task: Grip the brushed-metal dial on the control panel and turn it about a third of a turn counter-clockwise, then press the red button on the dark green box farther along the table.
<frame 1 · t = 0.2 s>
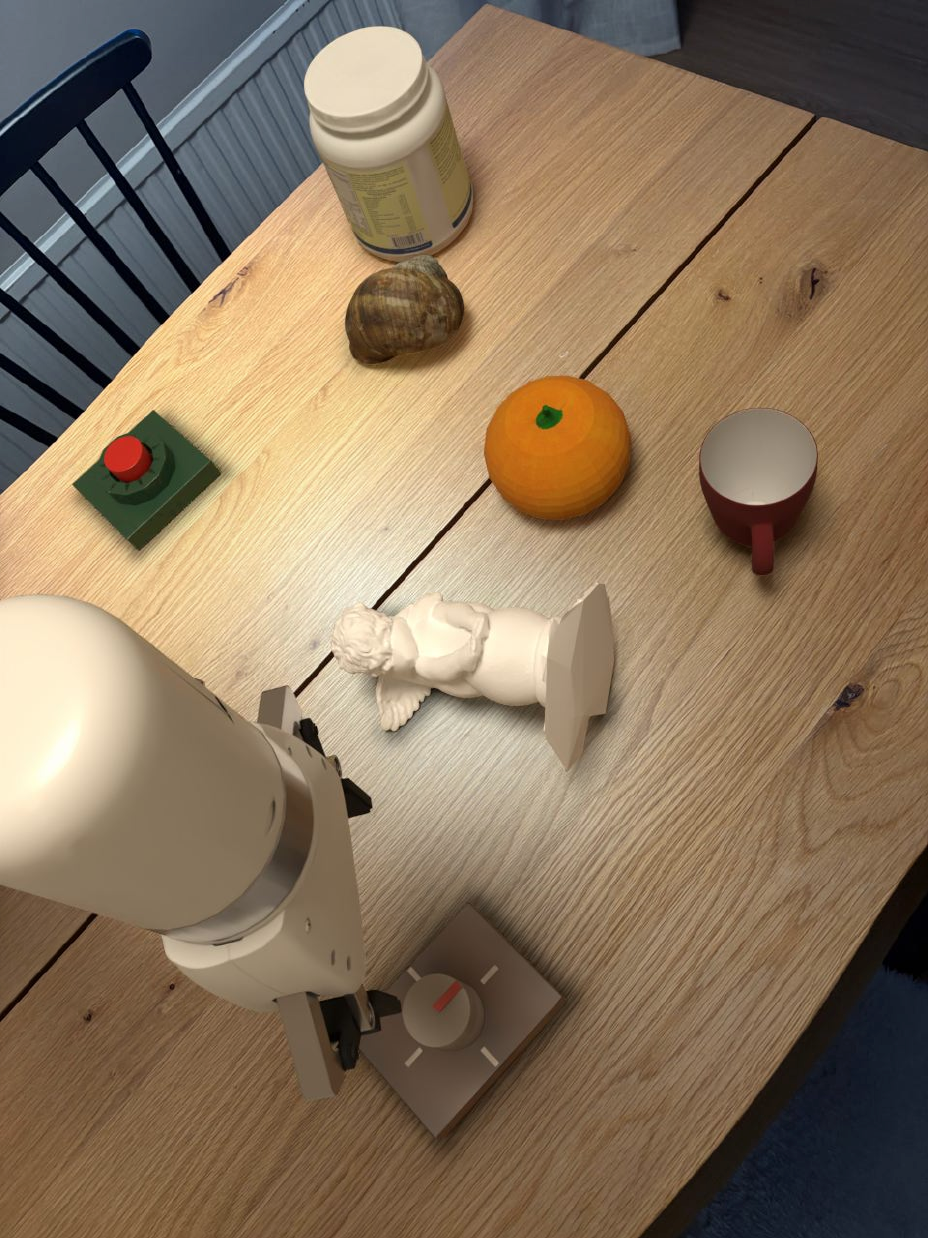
hand: (356, 908, 53), 26 cm above the table, tool pointing down, fingers open, 9 cm apart
supplement tub: (415, 218, 106), on the table
dial: (443, 1012, 71), point 5 cm above the table, hinge at 0.0°
mug: (758, 539, 85), on the table
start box: (152, 485, 100), on the table
fruit: (564, 473, 91), on the table
button: (128, 459, 96), point 4 cm above the table, slide at 0.1 cm
seashell: (411, 337, 100), on the table
angel figurine: (480, 688, 85), on the table
dial panel: (460, 1018, 75), on the table
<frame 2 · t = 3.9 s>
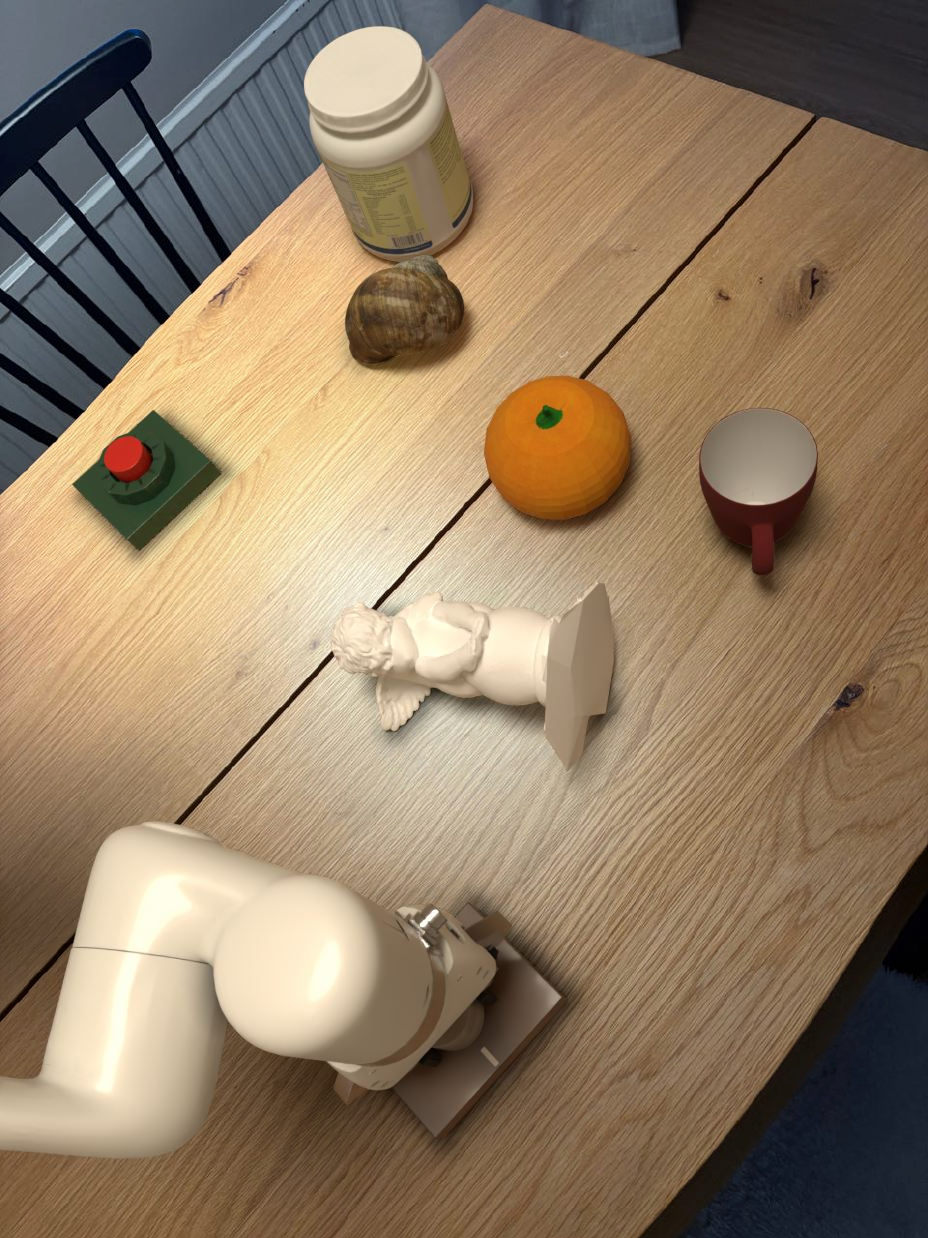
hand: (450, 1015, 73), 3 cm above the table, tool pointing down, fingers closed on dial, 4 cm apart
dial: (443, 1012, 71), point 5 cm above the table, hinge at 0.1°, touching gripper
everything else where it was.
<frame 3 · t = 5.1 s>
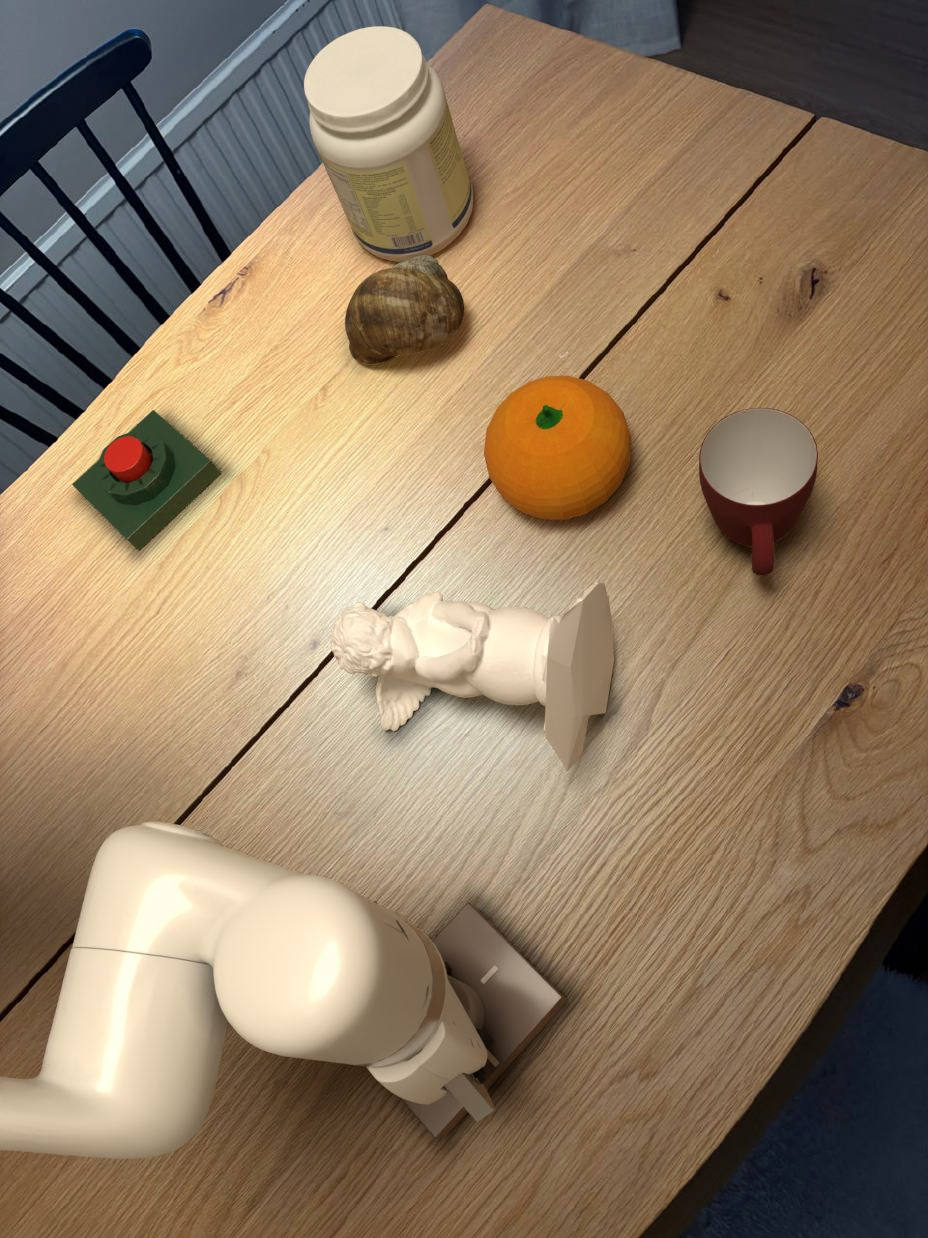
hand: (450, 1015, 73), 3 cm above the table, tool pointing down, fingers closed on dial, 4 cm apart
dial: (443, 1012, 71), point 5 cm above the table, hinge at 76.9°, touching gripper
everything else where it was.
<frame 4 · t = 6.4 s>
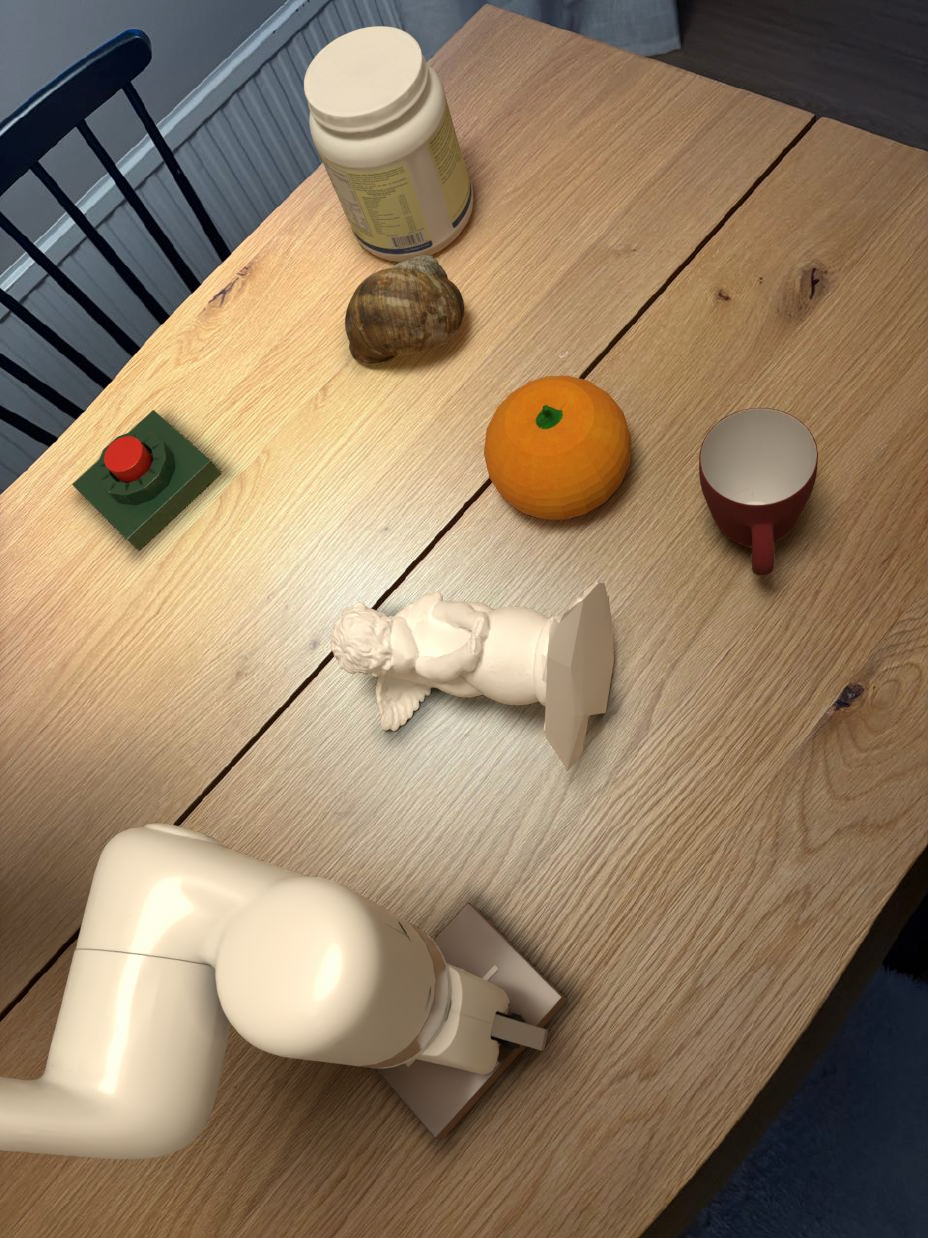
hand: (455, 1016, 73), 3 cm above the table, tool pointing down, fingers open, 5 cm apart
dial: (443, 1012, 71), point 5 cm above the table, hinge at 119.9°, touching gripper
everything else where it was.
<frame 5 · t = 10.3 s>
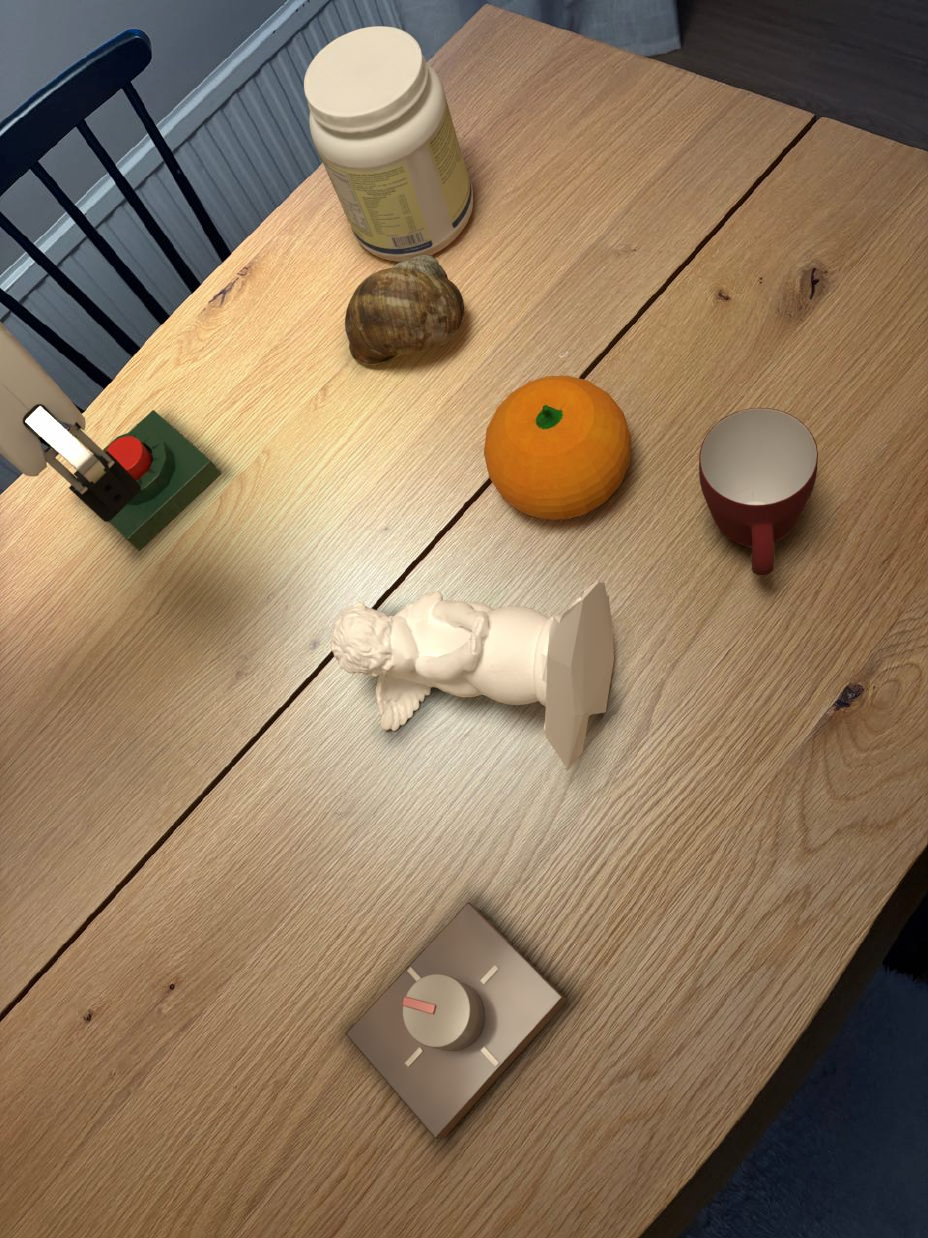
hand: (79, 465, 72), 23 cm above the table, tool pointing down, fingers open, 9 cm apart
dial: (443, 1012, 71), point 5 cm above the table, hinge at 120.0°
everything else where it was.
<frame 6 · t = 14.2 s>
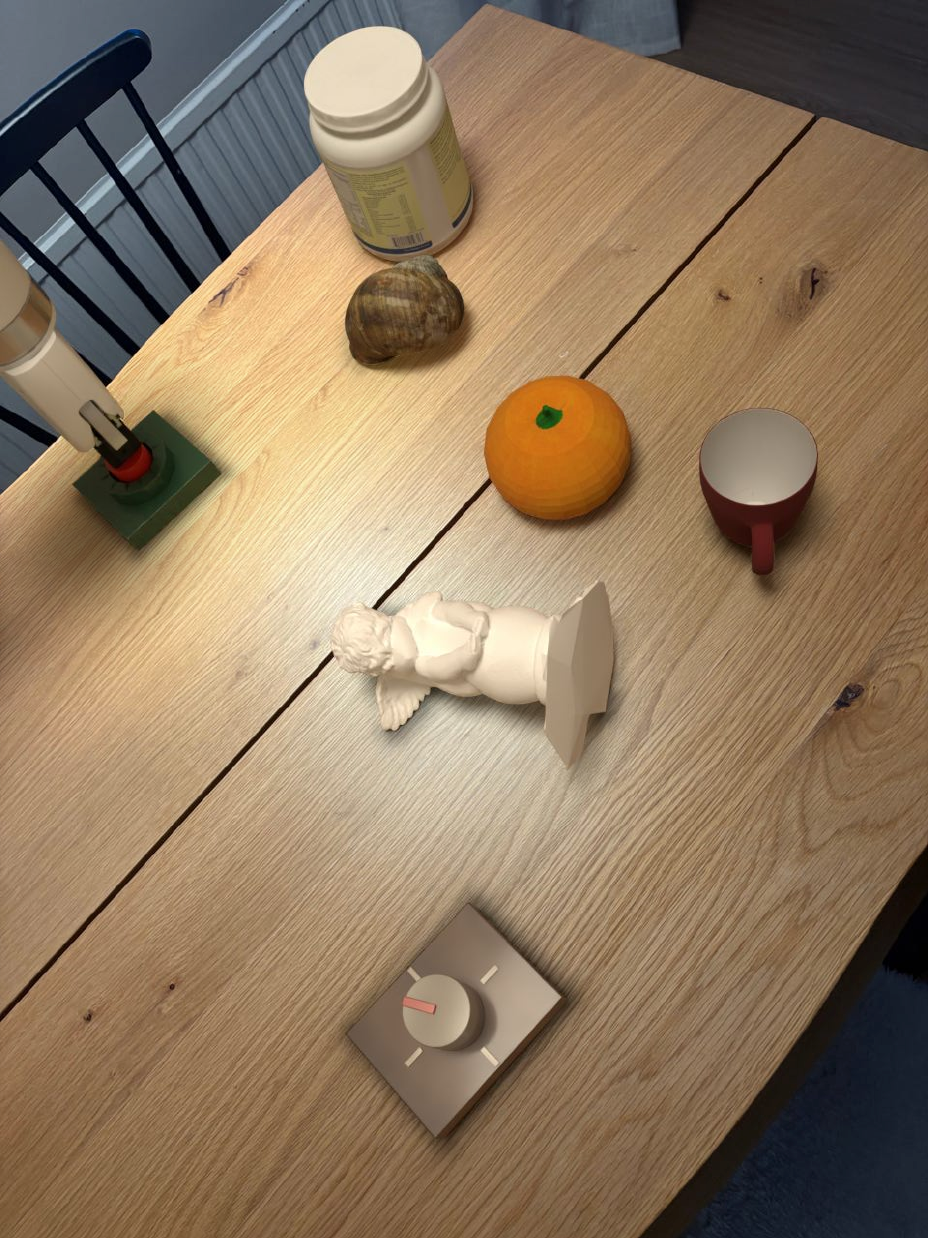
hand: (124, 452, 95), 5 cm above the table, tool pointing down, fingers closed
button: (128, 459, 96), point 4 cm above the table, slide at 0.0 cm, touching gripper
everything else where it was.
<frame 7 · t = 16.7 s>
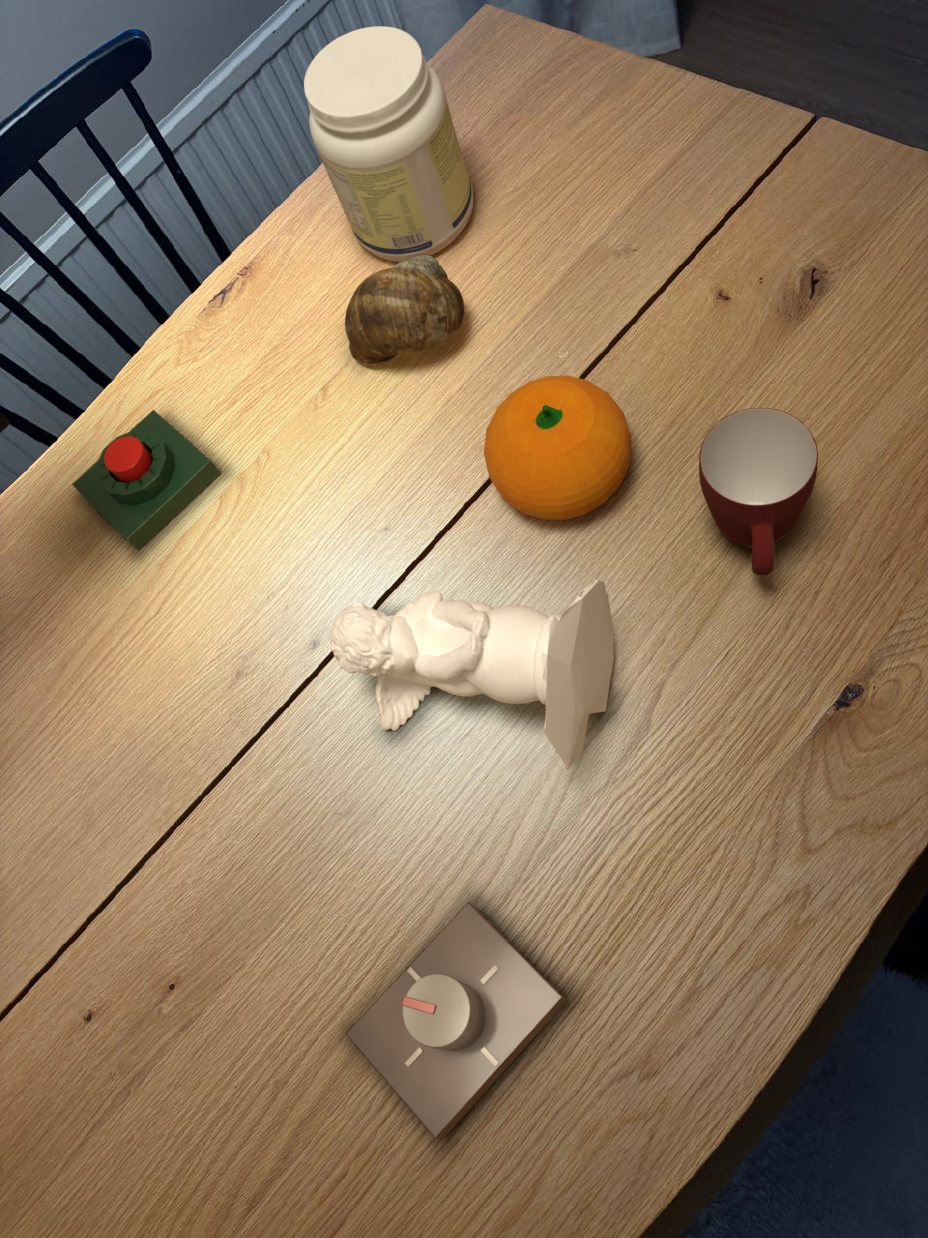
button: (128, 459, 96), point 4 cm above the table, slide at 0.1 cm
everything else where it was.
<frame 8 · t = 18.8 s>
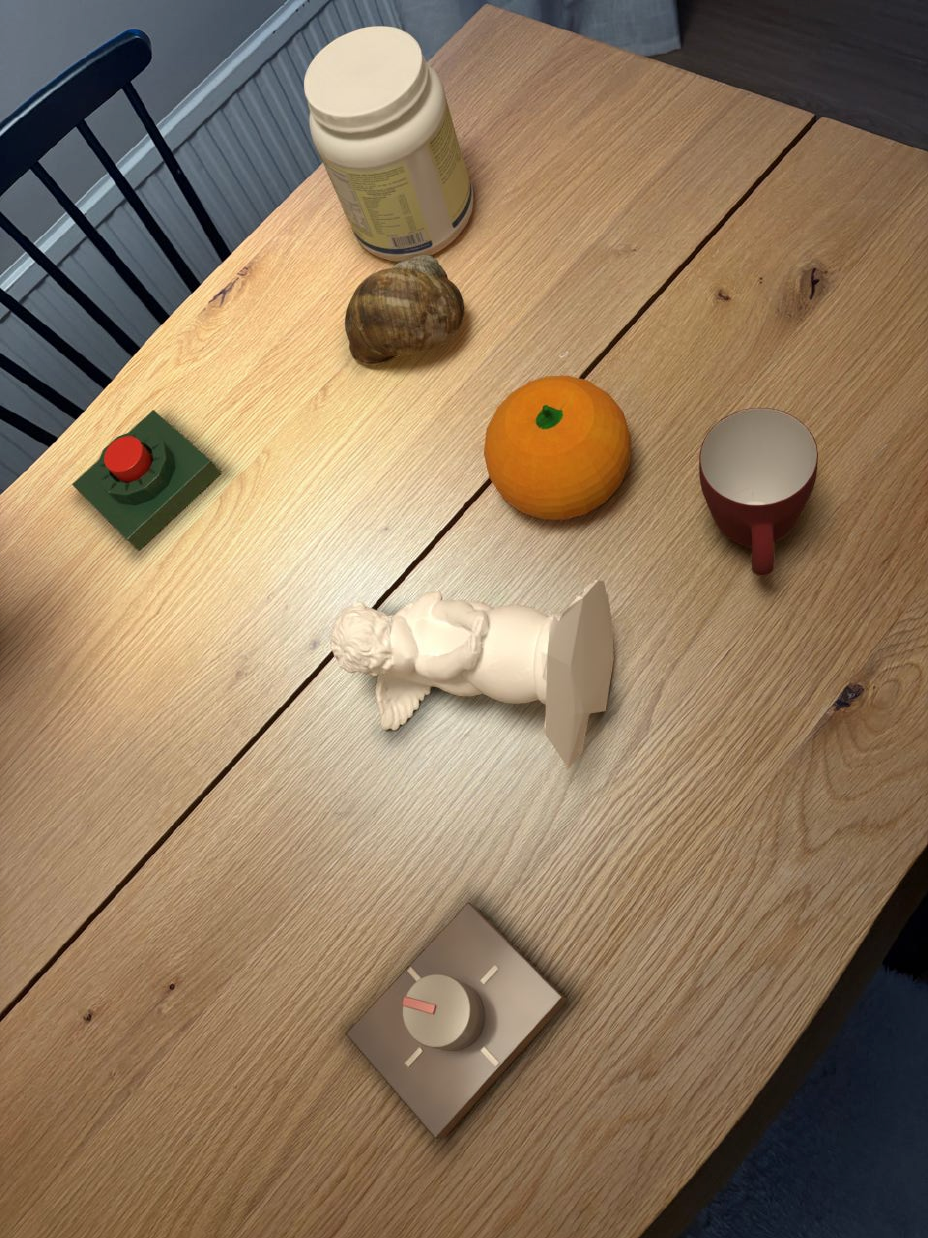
nothing on the table moved.
at the end: dial at +120° (first picture: +0°); button pushed in 1.1 cm at the most during the clip, back to where it started at the end; button slide at 0.1 cm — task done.
